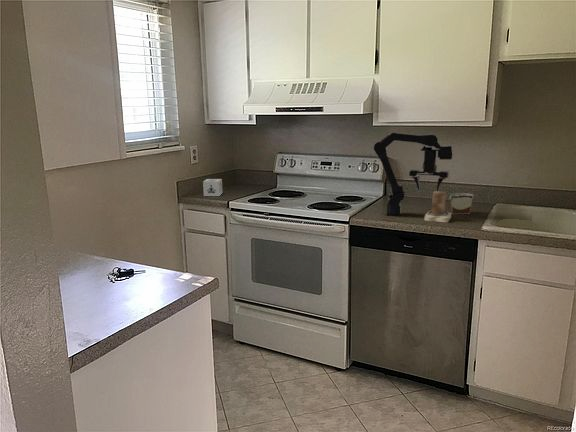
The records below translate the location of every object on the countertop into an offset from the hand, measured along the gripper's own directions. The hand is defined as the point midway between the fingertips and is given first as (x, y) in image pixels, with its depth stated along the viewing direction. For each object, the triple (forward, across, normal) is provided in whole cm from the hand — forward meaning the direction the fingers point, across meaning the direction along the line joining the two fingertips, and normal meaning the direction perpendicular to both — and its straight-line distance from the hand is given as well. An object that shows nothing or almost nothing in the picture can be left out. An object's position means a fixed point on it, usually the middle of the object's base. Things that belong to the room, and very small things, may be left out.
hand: (428, 190), depth 240 cm
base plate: (+13, -6, +6) cm, 16 cm away
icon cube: (+13, +136, -4) cm, 136 cm away
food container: (+13, -14, -13) cm, 23 cm away
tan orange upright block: (+10, -6, +6) cm, 14 cm away
